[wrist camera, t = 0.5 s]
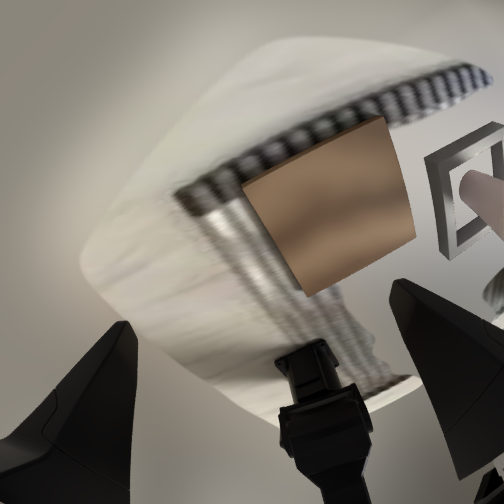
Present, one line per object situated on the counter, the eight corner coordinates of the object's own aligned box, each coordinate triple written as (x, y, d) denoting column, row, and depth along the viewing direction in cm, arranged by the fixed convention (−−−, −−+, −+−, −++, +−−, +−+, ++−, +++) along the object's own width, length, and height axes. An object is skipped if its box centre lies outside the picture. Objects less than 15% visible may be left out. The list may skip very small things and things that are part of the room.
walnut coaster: (411, 232, 25) (416, 237, 24) (304, 290, 27) (307, 297, 26) (377, 115, 19) (383, 116, 18) (241, 184, 21) (241, 188, 20)
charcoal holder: (499, 208, 25) (510, 215, 23) (439, 251, 27) (449, 261, 25) (492, 121, 19) (505, 125, 17) (423, 157, 21) (437, 164, 19)
